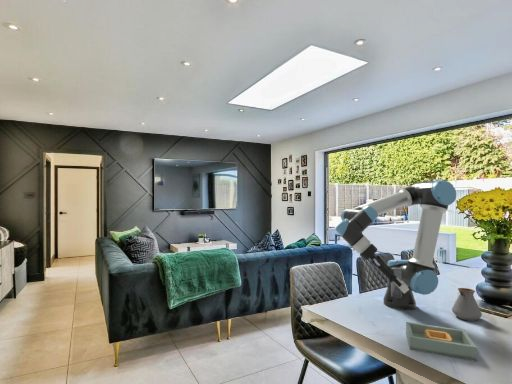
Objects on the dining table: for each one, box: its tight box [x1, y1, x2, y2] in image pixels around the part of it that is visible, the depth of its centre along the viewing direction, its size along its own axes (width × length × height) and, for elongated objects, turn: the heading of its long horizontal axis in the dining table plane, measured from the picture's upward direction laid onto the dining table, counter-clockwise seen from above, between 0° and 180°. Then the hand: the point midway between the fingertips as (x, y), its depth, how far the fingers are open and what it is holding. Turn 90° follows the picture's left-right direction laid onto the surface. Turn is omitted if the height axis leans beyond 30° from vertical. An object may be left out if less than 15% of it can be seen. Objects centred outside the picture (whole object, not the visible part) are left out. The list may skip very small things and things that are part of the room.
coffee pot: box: [451, 287, 483, 322], centre depth 139 cm, size 21×12×15 cm, turn 138°
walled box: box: [405, 321, 478, 362], centre depth 113 cm, size 15×20×4 cm
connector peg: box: [391, 267, 402, 298], centre depth 133 cm, size 4×4×12 cm
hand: (406, 289), depth 131 cm, fingers closed on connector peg, 4 cm apart
